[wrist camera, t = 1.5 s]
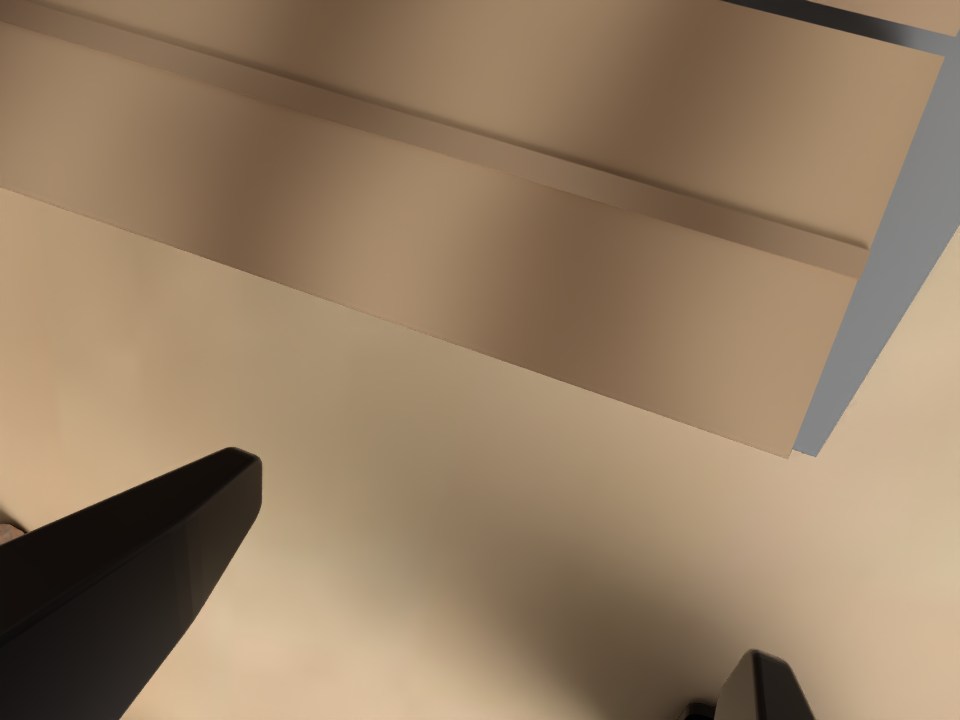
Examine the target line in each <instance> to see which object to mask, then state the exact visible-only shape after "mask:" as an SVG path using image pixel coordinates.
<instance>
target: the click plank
mask: <svg viewBox="0 0 960 720" xmlns="http://www.w3.org/2000/svg"><path fill="white" fill-rule="evenodd" d="M944 58H945V57H944V56H940V55H936V54H932V53H928V52H924V51H920V50H916V49H912V48H908V47H904V46H900V45H896V44H892V43H888V42H884V41H880V40H876V39H872V38H868V37H864V36H860V35H856V34H852V33H848V32H844V31H840V30H836V29H832V28H828V27H824V26H820V25H816V24H812V23H808V22H804V21H800V20H796V19H792V18H788V17H784V16H780V15H776V14H772V13H768V12H764V11H760V10H756V9H752V8H748V7H744V6H740V5H736V4H732V3H728V2H724V1H720V0H0V187H2V188H5V189H8V190H11V191H13V192H16V193H19V194H22V195H25V196H28V197H31V198H34V199H37V200H39V201H42V202H45V203H48V204H51V205H54V206H57V207H60V208H63V209H65V210H68V211H71V212H74V213H77V214H80V215H83V216H86V217H89V218H92V219H94V220H97V221H100V222H103V223H106V224H109V225H112V226H115V227H118V228H120V229H123V230H126V231H129V232H132V233H135V234H138V235H141V236H144V237H147V238H149V239H152V240H155V241H158V242H161V243H164V244H167V245H170V246H173V247H175V248H178V249H181V250H184V251H187V252H190V253H193V254H196V255H199V256H202V257H204V258H207V259H210V260H213V261H216V262H219V263H222V264H225V265H228V266H230V267H233V268H236V269H239V270H242V271H245V272H248V273H251V274H254V275H257V276H259V277H262V278H265V279H268V280H271V281H274V282H277V283H280V284H283V285H285V286H288V287H291V288H294V289H297V290H300V291H303V292H306V293H309V294H311V295H314V296H317V297H320V298H323V299H326V300H329V301H332V302H335V303H338V304H340V305H343V306H346V307H349V308H352V309H355V310H358V311H361V312H364V313H366V314H369V315H372V316H375V317H378V318H381V319H384V320H387V321H390V322H393V323H395V324H398V325H401V326H404V327H407V328H410V329H413V330H416V331H419V332H421V333H424V334H427V335H430V336H433V337H436V338H439V339H442V340H445V341H448V342H450V343H453V344H456V345H459V346H462V347H465V348H468V349H471V350H474V351H476V352H479V353H482V354H485V355H488V356H491V357H494V358H497V359H500V360H502V361H505V362H508V363H511V364H514V365H517V366H520V367H523V368H526V369H529V370H531V371H534V372H537V373H540V374H543V375H546V376H549V377H552V378H555V379H557V380H560V381H563V382H566V383H569V384H572V385H575V386H578V387H581V388H584V389H586V390H589V391H592V392H595V393H598V394H601V395H604V396H607V397H610V398H612V399H615V400H618V401H621V402H624V403H627V404H630V405H633V406H636V407H639V408H641V409H644V410H647V411H650V412H653V413H656V414H659V415H662V416H665V417H667V418H670V419H673V420H676V421H679V422H682V423H685V424H688V425H691V426H693V427H696V428H699V429H702V430H705V431H708V432H711V433H714V434H717V435H720V436H722V437H725V438H728V439H731V440H734V441H737V442H740V443H743V444H746V445H748V446H751V447H754V448H757V449H760V450H763V451H766V452H769V453H772V454H775V455H777V456H780V457H783V458H786V459H788V458H789V456H790V453H791V450H792V448H793V445H794V443H795V440H796V438H797V435H798V432H799V430H800V427H801V425H802V422H803V420H804V417H805V414H806V412H807V409H808V407H809V404H810V402H811V399H812V397H813V394H814V391H815V389H816V386H817V384H818V381H819V379H820V376H821V373H822V371H823V368H824V366H825V363H826V361H827V358H828V355H829V353H830V350H831V348H832V345H833V343H834V340H835V337H836V335H837V332H838V330H839V327H840V325H841V322H842V320H843V317H844V314H845V312H846V309H847V307H848V304H849V302H850V299H851V296H852V294H853V291H854V289H855V286H856V284H857V281H858V280H860V278H861V275H862V273H863V270H864V268H865V265H866V263H867V260H868V258H869V255H870V252H871V250H870V248H871V245H872V243H873V240H874V237H875V235H876V232H877V230H878V227H879V225H880V222H881V219H882V217H883V214H884V212H885V209H886V207H887V204H888V201H889V199H890V196H891V194H892V191H893V189H894V186H895V184H896V181H897V178H898V176H899V173H900V171H901V168H902V166H903V163H904V160H905V158H906V155H907V153H908V150H909V148H910V145H911V142H912V140H913V137H914V135H915V132H916V130H917V127H918V125H919V122H920V119H921V117H922V114H923V112H924V109H925V107H926V104H927V101H928V99H929V96H930V94H931V91H932V89H933V86H934V83H935V81H936V78H937V76H938V73H939V71H940V68H941V65H942V63H943V60H944Z"/></svg>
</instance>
